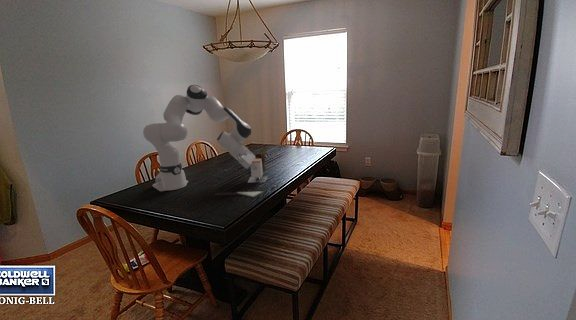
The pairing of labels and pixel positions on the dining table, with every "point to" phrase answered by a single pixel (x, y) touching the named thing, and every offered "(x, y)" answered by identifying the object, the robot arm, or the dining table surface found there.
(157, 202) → the dining table surface
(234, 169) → the dining table surface
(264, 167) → the wooden mug
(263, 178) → the square base plate
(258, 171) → the pink tall block
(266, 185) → the dining table surface
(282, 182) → the dining table surface
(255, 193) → the pad
